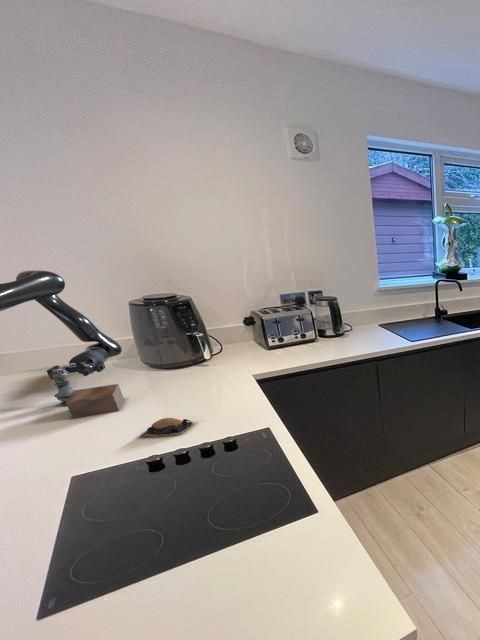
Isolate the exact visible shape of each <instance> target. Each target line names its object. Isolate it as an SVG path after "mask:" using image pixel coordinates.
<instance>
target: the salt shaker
mask: <svg viewBox="0 0 480 640" xmlns="http://www.w3.org/2000/svg"><path fill="white" fill-rule="evenodd" d="M53 378H54V380H53V381H54V386H56V388H57V390H58V391H57V393H55V394H54V395H53V397H54V398H55V399H56V400H58V401H59V402H60V403H59V406H60V407H67V404H66V400H67V399H68V398H69V397H70V395H71V394H72V393H73V391H74V390H75V389H72V387H71V385H70V380H69V381H68V379H67V377H66V376H65V374H63V373H59V371H56V374H54V375H53Z"/></svg>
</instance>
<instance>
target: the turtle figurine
mask: <svg viewBox="0 0 480 640" xmlns="http://www.w3.org/2000/svg"><path fill="white" fill-rule="evenodd" d="M193 425H194V422H192V421H191V420H189V419H188V418H187V419H186V418H184V419H179V418H175V417H164V418H160V419H159V420H156V421H155V422H153V423H152V424H151V426H149V427H147V429H146V430H145V431H144V432H143V433H142V434H141V437H169V436H180V435H182V434H184V433H186V432H187V431H188V429H191V427H192V426H193Z"/></svg>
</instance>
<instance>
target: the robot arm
mask: <svg viewBox="0 0 480 640" xmlns="http://www.w3.org/2000/svg"><path fill="white" fill-rule="evenodd" d="M65 287H66V281H65V280H64V279H63V277H62V276H61V275H59V274H57V273H56V272H53V271H48V270H23V271H21V272H19V273H18V274H17V275H16V277H15V280H13V281H10V282H9V281H8V282H4V283H3V282H2V283H0V312H3V311H5V310H9V309H11V308H14V307H17V306H18V305H21V304H23V303H26V302H27V303H28V302H31V301H35V302H37V303H38V304H39V305H40V306H41V307H43V308H44V309H46V310H47V311H48V312H50V313H51V314H52V315H53V316H54V317H56V319H58V320H59V321H60V322H61V323H62V324H63V325H64V326H66V328H67V329H68V330H70V331H71V333H72V334H73V335H75V337H77V339H78V340H80V341H81V342H83V343H93V342H94V343H93V344H90V345H88V346H86V347H85V350H84V351H81V352H79V353H77V354H76V355H74V356H73V357H72V358H70V359H69V361H68V364H65V365H61V366H60V365H54V366H52V367H50V368H48V369H46V373H47V375H48V377H49V379H50V380H53V381H54V378H53V375H54V374H56V371H59V373H63V374H65V376H70V375H75V374H79V375H82V376H83V377H88V376H89V375H92V374H95V372H96V373H101V372H102V371H103V370H105V369H106V365H105V363H106V362H107V361H108V360H109V359H110V358H113V357H118V356H119V355H121V354H122V351H123V348H122V346H121V345H120V344H119V342H118V341H116V340H115V339H113V338H112V337H110V336H109V335H107V334H106V333H104V332H102V331H101V330H100V329H98V327H97V326H96V325H95V324H94V323H93V322H92V321H91V320H90V318H88V317H87V316H85V314H83V313H82V312H80V311H78V310H77V309H75V308H74V307H72V306H71V305H69V304H68V303H67V302H65V301H64V300H63V299H62V298H61V297H59V296H58V295H59V294H61V293H62V292H63V291H64V289H65Z"/></svg>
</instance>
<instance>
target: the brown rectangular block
mask: <svg viewBox="0 0 480 640" xmlns="http://www.w3.org/2000/svg"><path fill="white" fill-rule="evenodd" d="M73 390H74V391H73V393H72V394H71V395H70V397H69V398H68V399H67V400H66V404H67V406H66V407H67V409H68V411H69V413H70V416H71V418H72V419H74V420H75V419H79V418H85V417H90V416H91V417H92V416H96V415H102V414H108V413H113V412H114V413H115V412H119V411H120V409H121V407H122V404H123V402H124V400H125V398H124V396H123V392H122V390H121V388H120V385H119V383H115V384H107V385H101V386H95V387H88V388H80V389H73Z"/></svg>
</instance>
